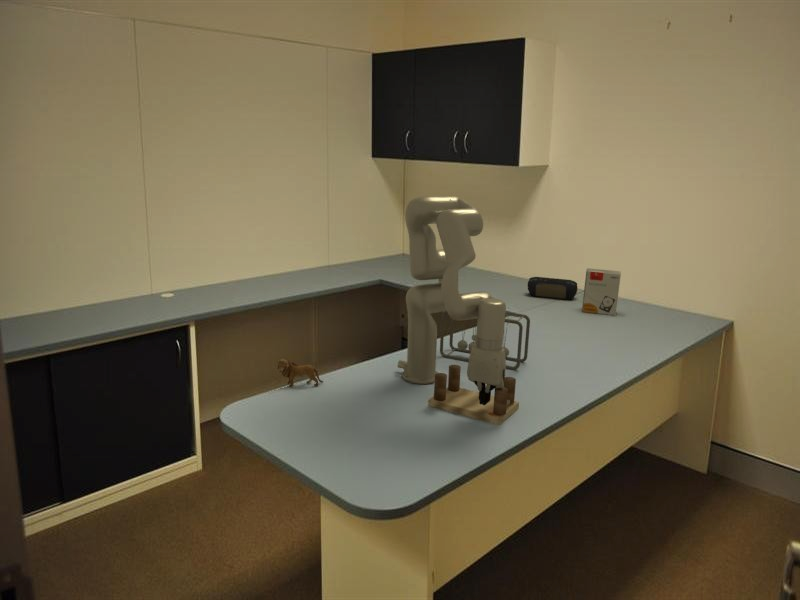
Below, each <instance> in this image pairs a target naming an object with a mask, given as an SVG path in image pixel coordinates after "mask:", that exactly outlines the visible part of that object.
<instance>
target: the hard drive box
mask: <svg viewBox="0 0 800 600" xmlns="http://www.w3.org/2000/svg"><path fill="white" fill-rule="evenodd" d="M621 276H622V273H621V271H619V270H610V269H608V270H607V269H599V268H588V267H587V268H586V271H585V280H584V289H583V299H582V307H581V312H582V313H589V314H598V315H600V314H601V315H605V314H608V315H607V316H616V314H617V306H618V299H619V298H618V297H619V290H620V283H621Z"/></svg>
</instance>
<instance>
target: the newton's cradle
mask: <svg viewBox="0 0 800 600" xmlns="http://www.w3.org/2000/svg"><path fill="white" fill-rule="evenodd" d="M445 315H449V314H448V312H447V311H444V312H441V315H440V317H441V318H440V319H441V320H440V341H439V353H440V355H441V356H442V357H443V358H446V359H452V360H455V361H463V362H469V358H467V357H462V356H456V355H450V354H451V353H453V352H455V351H456V352H461V353H466V354H470V353H471V349H472V346H473V345H474V344H475V341H474V340H472V341H471V342H469V344H468V341H466V340H464V339H465V337H462V340H461V339H460V340H459V341H458V342H457V347H455V346H454V344H453V343H454V342H453V341H454V339H453V338H454V324H455V323H454V321H455V320H454V319H452V318H451V317H450V326H449V327H450V329H449V348H450V349H452V350H451V351H450V352H448V353H447V354H445V353H444V334H445ZM505 317H514V318H518V319H510V318H505V323H507V324H506V325H508V324H515V325H518V343H517V354H516V355H517V357H512V356H509V354H510V350H509V348H507V347H506V344H503V347H502V348H504V351H505V360H506V361H512V362H516V364H515V365H514V366H513V365H512V366H511V365H507V364H506V370H511V371H516V370H519V368H520V365H521V363H524V362H525V361H527V359H528V353H529V339H530V338H529V337H530V326H531V319H530V317H529V316H528V315H527V314H523V313H522V314H521V313H515V312H509V311H506V313H505ZM522 319H525V320H526V326H525V327H526V328H525V338H524V339H525V341H524V354H523V358H522V357H521V356H522V355H521V354H522V353H521V352H522V341H523V329H524V326H523V324H522V323H521V320H522ZM475 322H476V323H475V325H477V319H475ZM466 326H467V323H465V325H464V328H466ZM505 330H506V332H505V334H507V331H508V328H506V329H505ZM465 332H466V330H463V335H466V334H465ZM475 333H477V327H475V330H474V329H472V335H475ZM506 338H507V336H504V342H506V340H507V339H506ZM467 348H468V349H467Z"/></svg>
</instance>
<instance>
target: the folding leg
mask: <svg viewBox="0 0 800 600" xmlns="http://www.w3.org/2000/svg"><path fill="white" fill-rule="evenodd" d="M516 380H517V379H516V378H515V377H513V376H505V379H504V381H503V382H504V387H503V388H502V389H496V388H494V394H493V396H494V408H493V413H495V414H497V415H504V414H506V408H507V407H508V405H509V404H512V403H514V401H515V397H516V394H515V393H516V383H517V382H516Z"/></svg>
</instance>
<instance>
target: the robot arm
mask: <svg viewBox="0 0 800 600" xmlns="http://www.w3.org/2000/svg"><path fill="white" fill-rule="evenodd" d="M404 214H405V215H404V219H405V224H406V228H407V233H408V238H409V239H408V240H409V241H408V242H409V243H408V244H409V246H408V248H409V250H408V251H409V269H410V270H409V272H410V275H411V277H412V279H414V280H417V281H431V280H438V282H435V283H425V284H424V283H422V284H418V285H413V286H412V287H410V288H409V289H408V290H407V291H406V295H405V303H406V311H407V352H406V353H407V356H406V358H407V360H402V359H399V360H398V362H397V368H399V369H403V372H401V373H402V374H401V377H402V379H403V380H404V381H406V382H408V383H412V384H416V385H417V384H419V385H428V384H434V383H435V374H436V373H439V372H438V371H436V370H437V369H436V366H437V365H436V364H437V346H438V344H437V343H438V342H437V341H438V326H437V322H436V320H435V319H434V318H433V316H432V314H435V313H443V312H444V311H447V312H448V314H447V315H448V316H449V317H450V319H451V318H452V319H454V321H459V322H460V321H467V320H474V319H475V320H477V324H476V332H475V334H474V335H473V334H472V335H471V340H472V341H473V340H474V342H475V344H474V345H473V346H472V349H471V353H469V358H468V359H469V362H468V363H467V364H468V365H467V371H466V376H467V379H468V381H470V382H472V383H474V385H475V386H476V387H477V391H478V392H479V400H480V402H479V404H483V405H486V404H487V403H488V402H490V397H491V395H492V391H493V390H495V388H496V389H502V388H503V387H504V382H503V381H504V379H505V377H506V370H507V369H506V365H507V364H506V361H507V360H506V359H505V351H504V348H502V347H504V337H505V325H506V324H505V323H506V322H505V319H506V315H505V313H506V312H507V311H506V310H507V304H506V303H505V302H504V301H503V300H501V299H499V298H495V297H494V296H493V295H492V294H491V293H489V292H486V291H477V292H473V291H472V292H465V293H464V292H463V293H460V292H459V271H460V270H461V269H463V268H465V267H466V266H468V265H470V264H471V263H472V262H474V261H475V259H476V256H477V255H476V251H475V249H474V246H473V242H472V240H471V237H477V236H479V235H480V234H481V233H482V231H483V229H484V220H483V216H482V215H481V213H480V212H479V210H478V209H477V208H476V207H474V206H473V205H472V204H470V203H469V202H467V201H465V199H462V198H460V197H458V196H455V195H429V196H428V195H427V196H418V197H415V198H413V199H411V200H410V201H409V202H408V203H407V205H406V208H405V213H404ZM432 224H434V225H435V224H436V229H437V232H438V235H439V239H440V242H441V245H442V249H437V237H436V234H435V232H434V230H433V229H432V227H431V226H430V225H432Z"/></svg>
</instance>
